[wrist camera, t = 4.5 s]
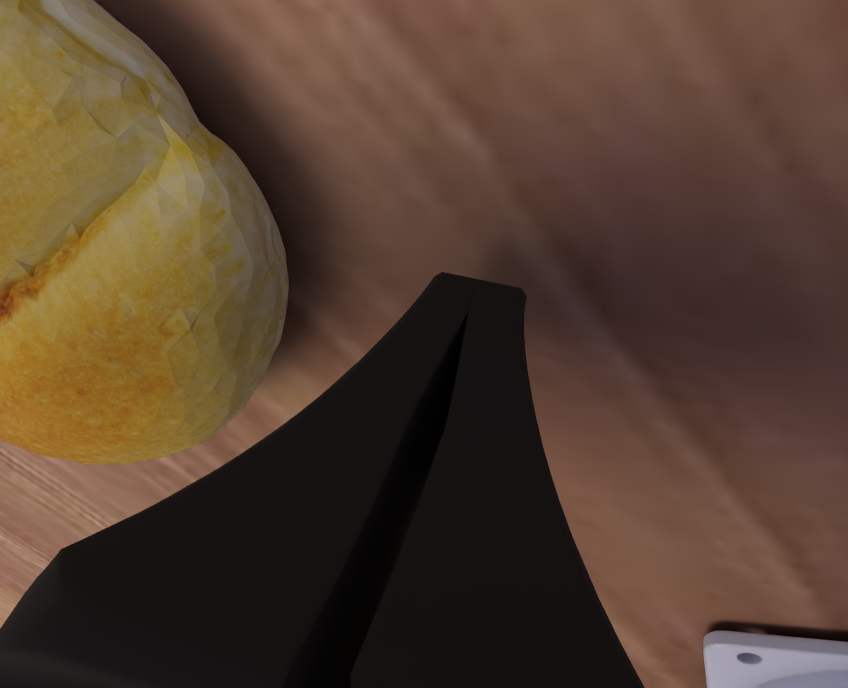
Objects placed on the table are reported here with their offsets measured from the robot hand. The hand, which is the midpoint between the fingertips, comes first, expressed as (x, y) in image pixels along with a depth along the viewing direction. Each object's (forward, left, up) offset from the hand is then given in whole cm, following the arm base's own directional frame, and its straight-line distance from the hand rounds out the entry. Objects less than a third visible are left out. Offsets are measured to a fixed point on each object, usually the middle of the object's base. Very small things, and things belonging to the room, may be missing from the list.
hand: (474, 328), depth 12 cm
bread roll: (+7, -3, -1) cm, 8 cm away
